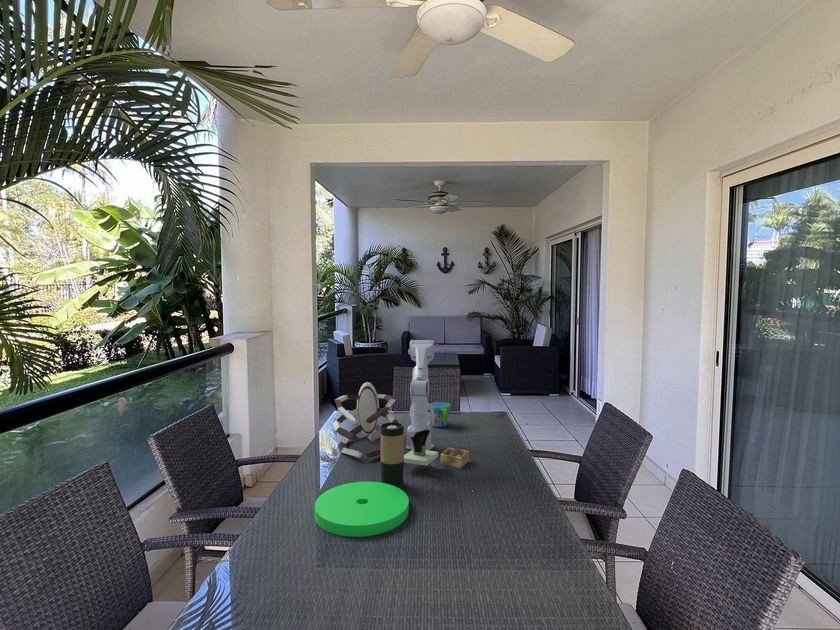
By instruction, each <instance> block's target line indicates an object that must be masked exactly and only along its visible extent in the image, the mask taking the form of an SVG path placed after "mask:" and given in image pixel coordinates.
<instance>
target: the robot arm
mask: <svg viewBox="0 0 840 630" xmlns="http://www.w3.org/2000/svg"><path fill="white" fill-rule="evenodd" d="M409 355H410V358H411V360H412V361H413V362H415V364H416V365H415V366H414V367H413V369H412V379H411V382H410V385H409V391H410V402H411V405H410V408H409V426H408V427H407V428H406V429H407V430H406V446H405V449H407V450H410V451H411V450H413V446H414V449H415V452H418V453H421V450H422V446H425V448H426V450H427V451H431V449H433V448H434V447H436V446H435V444H432V441H431V440H432V439H431V438H432V433H431V431H432V427H434V426H433V425H434V408H433V406H432V405H431V404H430V403H429V396H430V382H429V368H428V367H429V366H428V365H429V363H430V362H432V361H433V360H434V358H435V340H434V339H432V340H430V339H429V340H428V339H427V340H426V339H423V340H421V339H420V340H419V339H415V340H414V339H411V340H410V341H409Z"/></svg>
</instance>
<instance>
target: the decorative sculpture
mask: <svg viewBox="0 0 840 630" xmlns="http://www.w3.org/2000/svg"><path fill="white" fill-rule="evenodd" d="M379 400H386V402H387V403H386V404H385V406H384V407H382V408H380V405H379V404H380V403H379ZM343 401H356V408H355V409H353V410H349V411H347V410H346V409H345V407H344V406H343V404H342V402H343ZM395 402H396V399H395V398H394V397H393V396H392V395H389V394H383V393H382V394H381V393H380V394H379V393H377V390H376V388H375V386H374V385H373V384H372V382H368V381H366V382H364V383H363V384H362V385H361V386H360V389H359V392H358V394H345V395H342V396H339V397H338V398H336V399H334V403H335V405H336V408H337V410H338V411H339V413H340V414H341V415H340V416H339V417H338V418H337V419H336V420H335V421H333V423H332V426H333V429H334V431H336V433H338V435H340V436H342V437H343V438H342V439H341V440H340V442H339V443H338V444H337V447H338V449H339V451H340V453H342V454H345V455H348V456H350V457H351V456H352V457H355V458H358V459H361V457H362V456H363V453H362V452H361V451H358V450H355V449H351V448H348V446H347V443H348V442H349V441H352V442H356V441H357V440H358V439H359V437H358V436H357V434H359V433H361V432H362V433H363V434H364V435H366V436H367V437H366V438H367V439H368V440H369V441H371V442H373V441H376V440H377V439H381V425H379V420H380V417H383V418H386V419H388V420H389V422H390V423H392V422H394V423H399V421H398V419H397V418H396V417H395V416H394V415H393V414H392V413H391V412H390V411H389V410H390V408H392V406H393V404H394V403H395ZM355 417H357V419H356V418H355ZM346 420H348V421H349V422H351V424H353V426H354V425H356V424H358V425H357V426H356V427H355V428H353V429H352V430H350V431H349V430H347V429H346V428H343V427H342V425H341V424H342V423H343V422H344V421H346ZM365 455H366V457H368V459H369V458H373V457H377V456H381V448H380V449H377V450H373V451H369V452H366V453H365Z"/></svg>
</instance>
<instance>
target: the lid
mask: <svg viewBox="0 0 840 630" xmlns="http://www.w3.org/2000/svg"><path fill="white" fill-rule="evenodd" d="M438 457H439V451H434V450H429V451H427V450H426V448H425V446H422V450H421V453H418V452H415V449H414V446H413V450H411V449H410V451H408V452H407V453H404V463H405V464H413V465H420V466H426V467H427V466H428V465H429V464H431V463H432V462H433V461H434V460H435V459H437V458H438Z"/></svg>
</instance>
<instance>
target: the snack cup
mask: <svg viewBox="0 0 840 630" xmlns="http://www.w3.org/2000/svg"><path fill="white" fill-rule="evenodd" d="M430 404H431V405H432V406H433V408H434V425H433V426H432V427H434V428H446V427H447V426H448V424H449V416H450V409H451V408H452V404H450V403H448V402H444V401H442V402H441V401H435V402H431V403H430Z"/></svg>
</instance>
